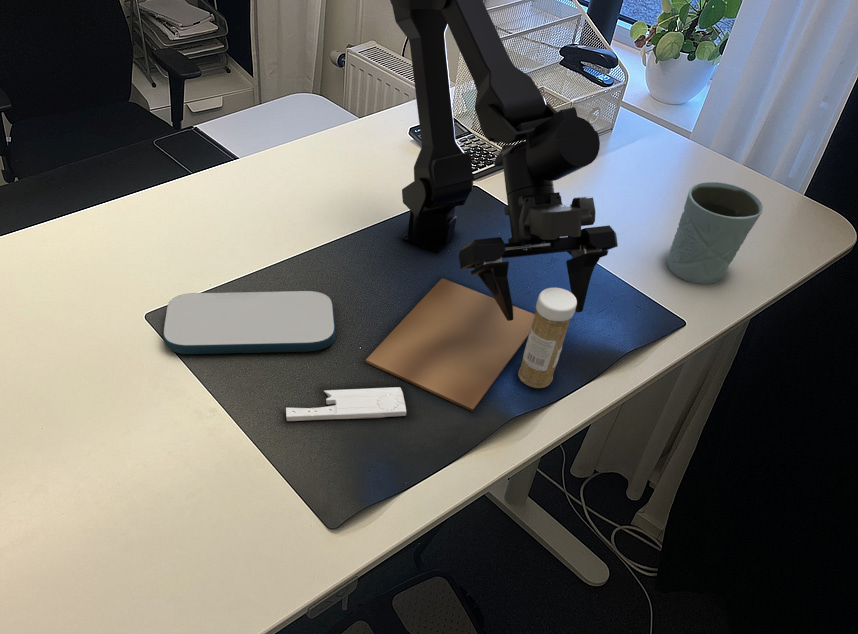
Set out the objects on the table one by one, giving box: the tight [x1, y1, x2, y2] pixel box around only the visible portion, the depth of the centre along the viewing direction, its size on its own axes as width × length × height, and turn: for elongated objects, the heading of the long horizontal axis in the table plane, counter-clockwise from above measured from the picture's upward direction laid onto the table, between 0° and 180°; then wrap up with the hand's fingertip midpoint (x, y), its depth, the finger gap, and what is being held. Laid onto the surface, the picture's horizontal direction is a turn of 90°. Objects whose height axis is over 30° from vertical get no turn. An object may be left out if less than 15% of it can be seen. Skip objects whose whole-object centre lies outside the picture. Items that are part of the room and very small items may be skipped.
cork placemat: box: [365, 277, 535, 412], centre depth 105 cm, size 16×22×1 cm
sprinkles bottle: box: [517, 287, 577, 389], centre depth 95 cm, size 5×5×14 cm
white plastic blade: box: [285, 386, 407, 422], centre depth 96 cm, size 5×15×1 cm, turn 94°
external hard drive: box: [162, 290, 336, 355], centre depth 106 cm, size 24×12×2 cm, turn 93°
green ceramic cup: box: [666, 181, 764, 285], centre depth 113 cm, size 10×10×12 cm
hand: (545, 316), depth 95 cm, fingers open, 9 cm apart
